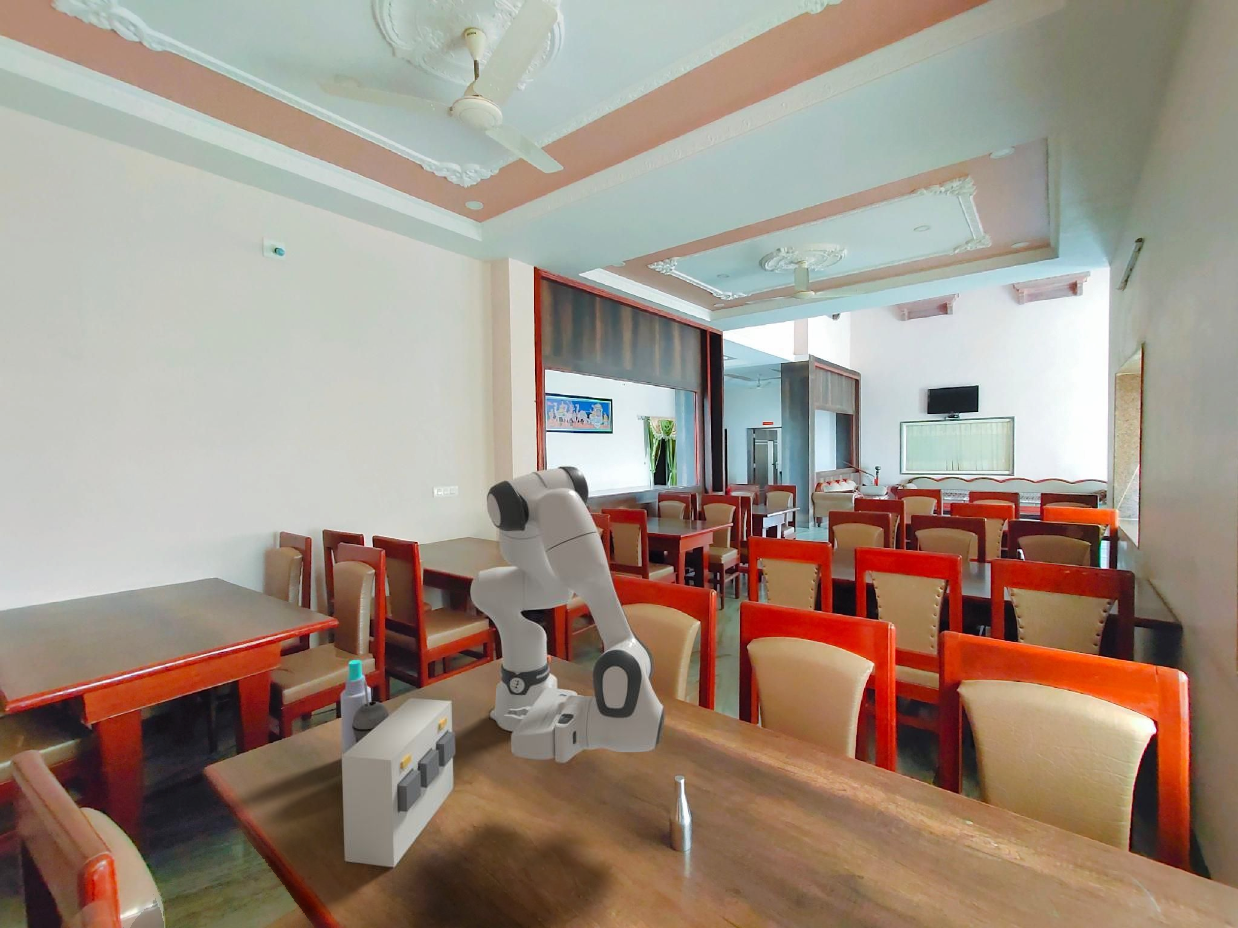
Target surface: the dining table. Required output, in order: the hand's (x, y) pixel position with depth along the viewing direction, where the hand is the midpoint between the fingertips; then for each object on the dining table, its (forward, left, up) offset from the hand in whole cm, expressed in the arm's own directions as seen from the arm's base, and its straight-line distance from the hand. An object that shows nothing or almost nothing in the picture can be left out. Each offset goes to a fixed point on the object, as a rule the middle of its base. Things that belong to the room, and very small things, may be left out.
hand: (505, 716), depth 104 cm
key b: (0, -14, -10) cm, 17 cm away
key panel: (+6, -18, -18) cm, 26 cm away
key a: (+13, -14, -10) cm, 21 cm away
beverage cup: (-6, -32, -18) cm, 37 cm away
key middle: (+6, -14, -10) cm, 18 cm away
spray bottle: (-11, -39, -18) cm, 45 cm away
